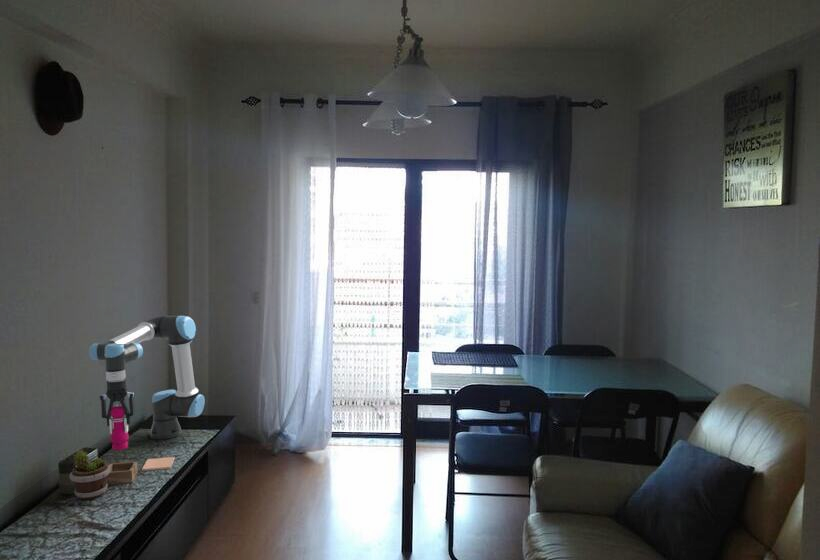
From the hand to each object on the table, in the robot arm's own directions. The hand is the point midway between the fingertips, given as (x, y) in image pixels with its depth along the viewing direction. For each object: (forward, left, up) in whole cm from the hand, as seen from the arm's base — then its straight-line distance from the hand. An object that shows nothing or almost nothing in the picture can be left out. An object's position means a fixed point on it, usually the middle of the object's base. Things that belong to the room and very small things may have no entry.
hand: (119, 432), depth 270 cm
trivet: (-13, +13, -20) cm, 27 cm away
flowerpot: (+15, -8, -21) cm, 27 cm away
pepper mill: (0, 0, -7) cm, 7 cm away
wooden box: (0, 0, -20) cm, 20 cm away
